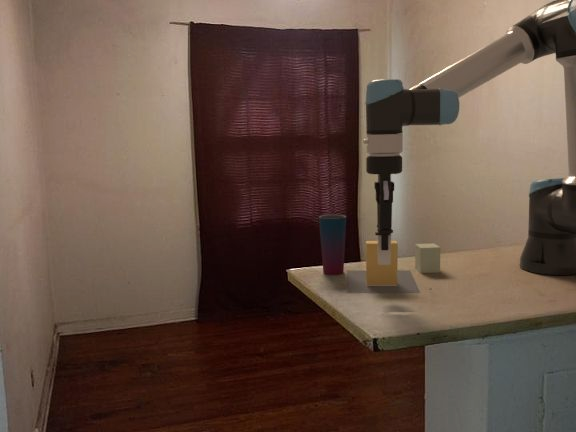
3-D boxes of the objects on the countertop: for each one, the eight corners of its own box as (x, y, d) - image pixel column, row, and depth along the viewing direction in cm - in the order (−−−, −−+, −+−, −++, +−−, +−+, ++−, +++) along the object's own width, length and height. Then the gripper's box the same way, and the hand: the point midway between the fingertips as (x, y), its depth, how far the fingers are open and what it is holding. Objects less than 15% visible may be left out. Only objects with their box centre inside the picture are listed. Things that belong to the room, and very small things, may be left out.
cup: (317, 277, 148) (316, 218, 145) (322, 271, 154) (321, 214, 152) (344, 278, 146) (344, 218, 144) (348, 271, 152) (348, 214, 150)
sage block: (434, 269, 153) (434, 243, 151) (440, 274, 148) (440, 247, 147) (414, 270, 152) (415, 244, 151) (420, 275, 147) (420, 248, 146)
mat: (410, 272, 150) (410, 270, 150) (420, 295, 130) (420, 292, 130) (346, 272, 152) (346, 270, 151) (347, 295, 132) (347, 292, 132)
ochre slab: (396, 282, 139) (396, 240, 138) (397, 285, 136) (397, 243, 135) (366, 282, 140) (366, 241, 138) (366, 285, 137) (366, 243, 135)
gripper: (365, 153, 131) (365, 257, 135) (367, 156, 118) (368, 271, 122) (399, 152, 131) (398, 257, 134) (405, 156, 118) (404, 271, 121)
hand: (384, 263), depth 128 cm, fingers closed
